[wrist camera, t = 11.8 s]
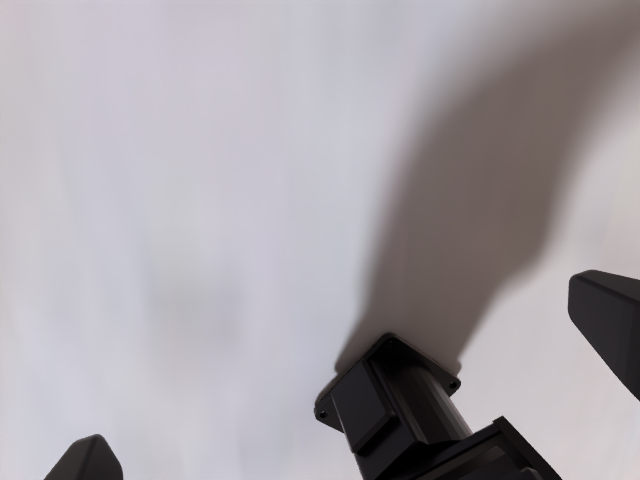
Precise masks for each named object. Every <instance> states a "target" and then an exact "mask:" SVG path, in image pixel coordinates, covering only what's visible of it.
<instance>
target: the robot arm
mask: <svg viewBox="0 0 640 480" xmlns="http://www.w3.org/2000/svg"><path fill="white" fill-rule="evenodd" d="M568 313H569V316H570V318H571V320H572V322H573V323H574V324H575V326H576V327H577V328H578V329H579V331H580V332H581V333H582V334H583V336H584V337H585V338H586V339H587V341H588V342H589V343H590V344H591V345H592V347H593V348H594V349H595V350H596V352H597V353H598V354H599V355H600V357H601V358H602V359H603V360H604V362H605V363H606V364H607V365H608V366H609V368H610V369H611V370H612V371H613V373H614V374H615V375H616V376H617V377H618V379H619V380H620V381H621V382H622V383H623V384H624V385H625V387H626V388H627V389H628V390H629V391H630V392H631V393H632V394H633V395H634V396H635V397H636V398H637V399H638V400H639V401H640V280H638V279H633V278H629V277H624V276H620V275H616V274H611V273H607V272H602V271H598V270H587V271H584V272H581V273H578V274H575V275H573V276H572V277H571V278H570V280H569V293H568ZM390 341H392V343H390V344H387V343H388V342H390ZM452 382H453V383H452ZM460 385H461V381H460V380H459V378H458V377H457V376H456V375H455V374H454V373H452V372H451V371H449V370H448V369H446V368H445V367H443V366H442V365H440V364H439V363H437V362H436V361H434V360H433V359H431V358H430V357H428V356H427V355H425V354H424V353H422V352H421V351H419V350H418V349H416V348H415V347H413V346H412V345H410V344H409V343H408V342H406V341H405V340H403V339H402V338H400V337H399V336H397V335H396V334H394V333H387V334H385V335H383V336H382V337H381V338H380V339H379V340H378V341H377V342H376V343H375V344H374V345H373V347H372V348H371V349H370V350H369V351H368V352H367V353H366V354H365V355H364V356H363V357H362V358H361V359H360V360H359V361H358V362H357V363H356V364H355V365H354V366H353V367H352V369H351V370H350V371H349V372H348V373H347V374H346V375H345V376H344V377H343V378H342V379H341V380H340V381H339V382H338V383H337V384H336V385H335V386H334V387H333V388H332V390H331V391H330V392H329V393H328V394H327V395H326V396H325V397H324V398H323V399H322V400H321V401H320V402H319V403H318V404H317V405H316V406H315V408H314V414H315V417H316V419H317V420H318V421H320V422H322V423H324V424H326V425H328V426H330V427H332V428H334V429H336V430H338V431H340V432H342V433H344V434H345V436H346V439H347V442H348V444H349V447H350V450H351V452H352V453H354V456H355V459H356V462H357V464H358V467H359V470H360V473H361V475H362V478H363V480H562V479H561V477H560V476H559V475H558V474H557V473H556V472H555V470H554V469H553V468H552V467H551V466H550V465H549V464H548V463H547V462H546V461H545V460H544V459H543V458H542V456H541V455H540V454H539V453H538V452H537V451H536V450H535V449H534V448H533V447H532V446H531V445H530V444H529V443H528V442H527V441H526V440H525V438H524V437H523V436H522V435H521V434H520V433H519V432H518V431H517V430H516V429H515V428H514V427H513V426H512V425H511V424H510V423H509V422H508V420H507V419H506V418H505V417H504V416H501V417H499V418H497V419H495V420H493V421H492V422H493V423H492V424H491V425H489V426H487V427H485V428H483V429H481V430H479V431H478V432H476V433H474V434H473V433H472V431H471V430H470V428H469V427H468V425H467V424H466V422H465V421H464V419H463V418H462V416H461V415H460V413H459V412H458V410H457V409H456V407H455V406H454V404H453V403H452V401H451V400H450V398H449V397H450V396H452V395H453V394H454V393H455V392H456V391H457V390H458V389H459V387H460ZM323 411H325V412H323ZM321 412H323V413H321ZM44 480H123V471H122V467H121V465H120V463H119V461H118V459H117V458H116V456H115V454H114V453H113V451H112V450H111V448H110V446H109V445H108V443H107V442H106V440H105V439H104V437H103V436H101V435H99V434H95V435H92V436H89V437H86V438H83V439H80V440H77V441H75V442H74V443H73V444H72V445H71V446H70V447H69V448H68V450H67V451H66V452H65V453H64V455H63V456H62V457H61V458H60V460H59V461H58V462H57V464H56V465H55V466H54V467H53V469H52V470H51V471H50V472H49V474H48V475H47V476H46V477H45V479H44Z"/></svg>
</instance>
